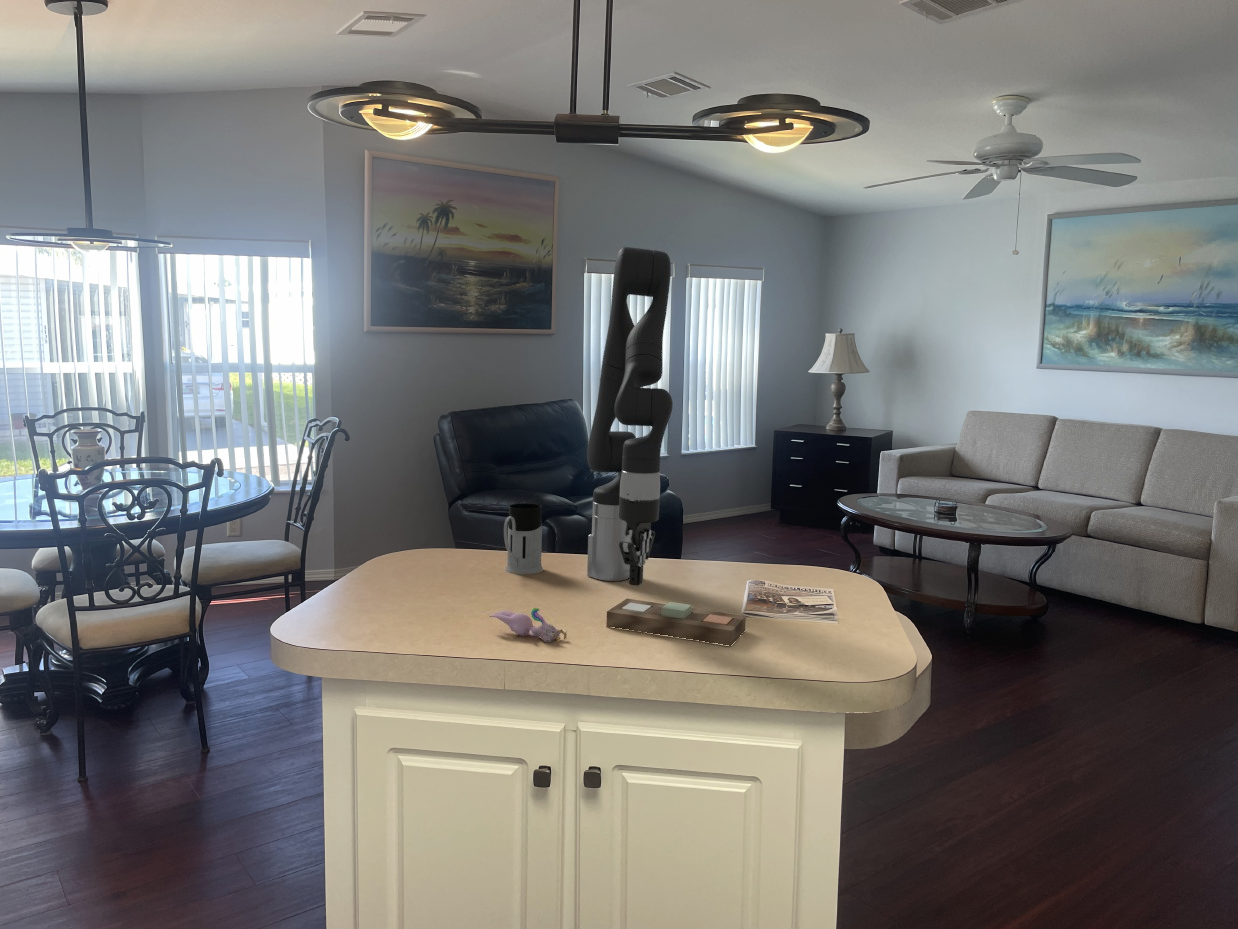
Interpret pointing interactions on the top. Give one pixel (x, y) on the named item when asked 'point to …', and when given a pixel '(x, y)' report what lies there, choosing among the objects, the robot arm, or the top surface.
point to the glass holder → (524, 538)
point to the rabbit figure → (529, 625)
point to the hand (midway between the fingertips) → (635, 584)
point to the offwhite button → (636, 607)
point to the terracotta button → (718, 619)
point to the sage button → (676, 610)
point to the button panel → (676, 623)
